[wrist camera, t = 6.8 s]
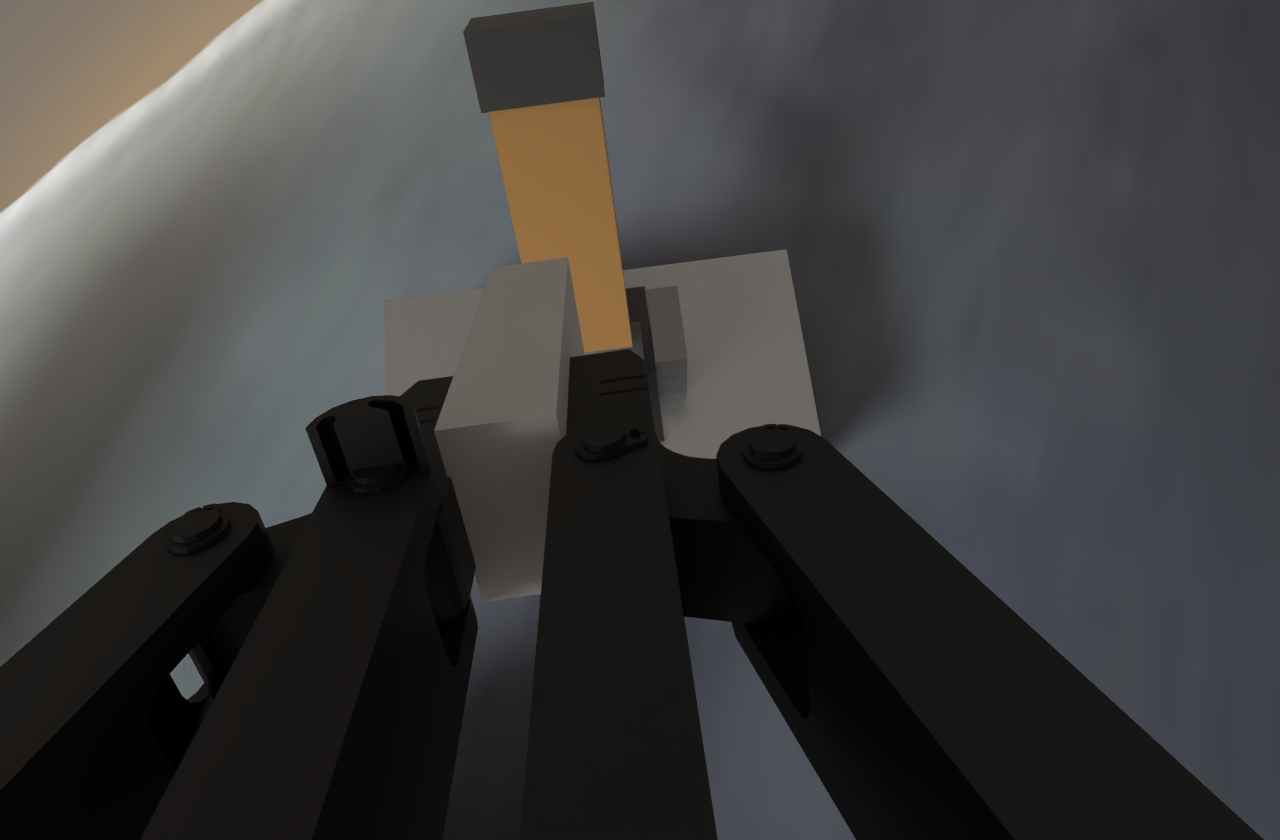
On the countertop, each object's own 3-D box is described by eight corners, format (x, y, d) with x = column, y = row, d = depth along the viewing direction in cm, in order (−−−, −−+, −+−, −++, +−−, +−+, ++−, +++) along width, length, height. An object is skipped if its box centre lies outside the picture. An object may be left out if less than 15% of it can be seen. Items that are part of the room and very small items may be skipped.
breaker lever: (648, 391, 32) (600, 14, 24) (541, 404, 32) (456, 33, 24) (644, 359, 34) (599, 0, 26) (543, 372, 34) (465, 18, 26)
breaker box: (801, 476, 38) (841, 417, 29) (432, 521, 39) (349, 478, 29) (772, 306, 41) (799, 199, 31) (425, 349, 41) (347, 258, 32)
